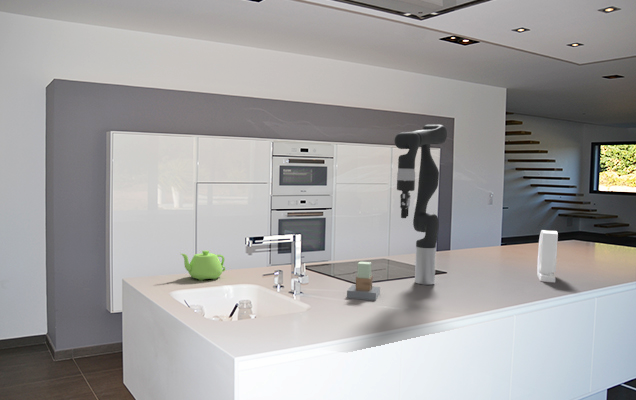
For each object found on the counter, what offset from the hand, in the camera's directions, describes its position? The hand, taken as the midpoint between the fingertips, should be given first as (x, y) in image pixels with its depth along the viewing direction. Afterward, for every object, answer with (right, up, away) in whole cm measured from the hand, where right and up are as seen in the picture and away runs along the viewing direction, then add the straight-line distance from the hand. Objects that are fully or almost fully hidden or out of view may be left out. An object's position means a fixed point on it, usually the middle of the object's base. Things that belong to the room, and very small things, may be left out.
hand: (404, 217), depth 225 cm
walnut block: (-18, -30, -4) cm, 35 cm away
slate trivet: (-18, -33, -4) cm, 38 cm away
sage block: (-18, -25, -4) cm, 31 cm away
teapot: (-91, -30, +23) cm, 99 cm away
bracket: (+80, -33, +45) cm, 97 cm away
